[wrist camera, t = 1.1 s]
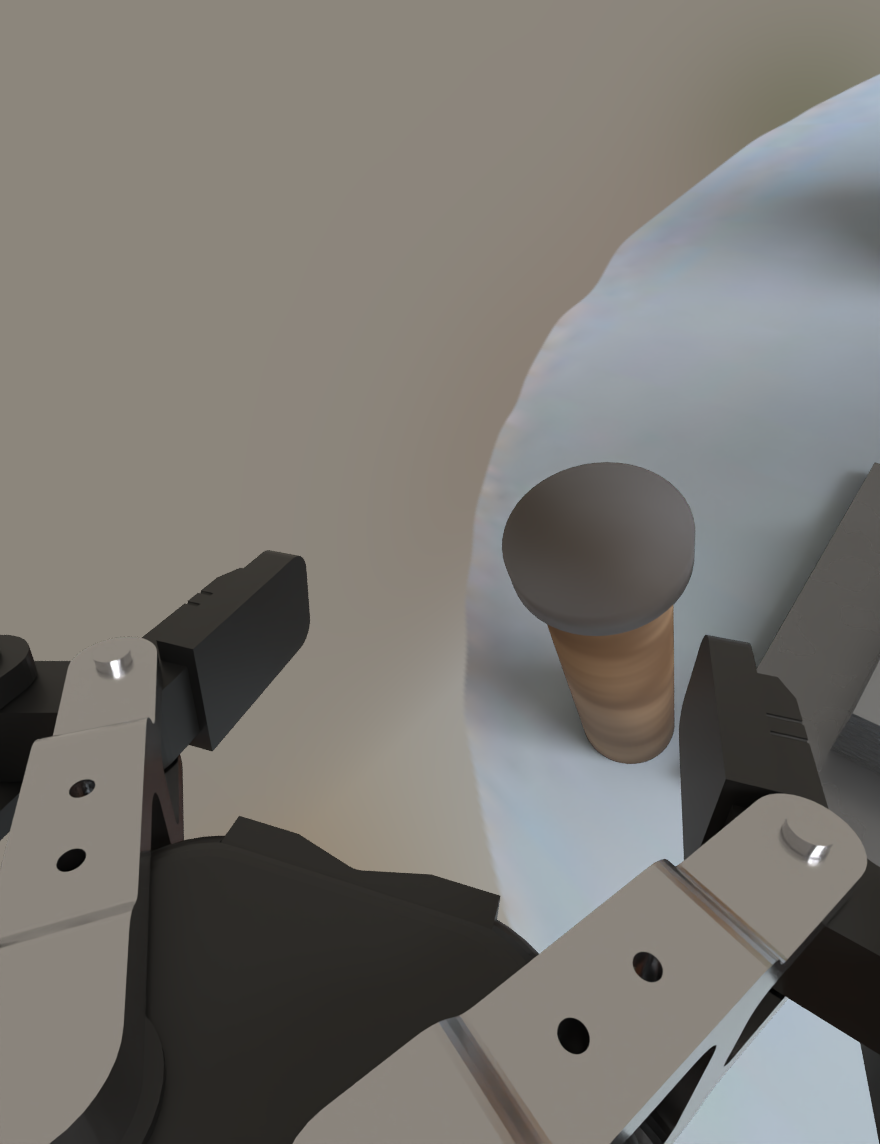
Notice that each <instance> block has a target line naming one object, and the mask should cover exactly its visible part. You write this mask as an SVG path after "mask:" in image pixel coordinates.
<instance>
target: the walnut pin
mask: <svg viewBox="0 0 880 1144" xmlns="http://www.w3.org/2000/svg"><path fill="white" fill-rule="evenodd" d="M694 550H695V525H694V519H693V515H692V512H691V510H690V507H689V505H688V504H687V502H686V500H685V498H684V497H683V496H682V495H681V493H680V492H679V491H678V490H677V489H676V488H675V487H674V486H673V485H672V484H671V483H670V482H668V481H667V480H665V479H664V478H663V477H661V476H659V475H657V474H655V473H653V472H651V471H649V470H646V469H644V468H641V467H637V466H633V465H629V464H622V463H610V462H604V463H591V464H584V465H580V466H576V467H572V468H569V469H566V470H563V471H561V472H559V473H556V474H554V475H552V476H550V477H548V478H547V479H545V480H543V481H542V482H540V483H539V484H537V485H536V486H535V487H533V488H532V489H531V490H530V491H529V492H528V493H527V494H525V495H524V497H523V498H522V499H521V500H520V501H519V502H518V503H517V505H516V506H515V508H514V509H513V511H512V513H511V514H510V516H509V518H508V520H507V523H506V526H505V529H504V534H503V539H502V552H503V559H504V562H505V566H506V569H507V571H508V574H509V576H510V579H511V581H512V584H513V586H514V589H515V591H516V593H517V595H518V597H519V598H520V600H521V601H522V603H523V604H524V606H525V607H526V608H527V609H528V610H529V611H530V612H531V613H532V614H533V615H535V616H536V617H537V618H538V619H540V620H541V621H543V622H545V623H546V624H547V625H548V628H549V631H550V634H551V637H552V640H553V643H554V645H555V648H556V651H557V654H558V657H559V660H560V663H561V665H562V668H563V671H564V674H565V677H566V680H567V682H568V685H569V688H570V691H571V694H572V697H573V700H574V702H575V705H576V708H577V711H578V714H579V717H580V719H581V722H582V725H583V728H584V731H585V734H586V736H587V738H588V740H589V741H590V743H591V744H592V746H593V747H594V748H595V749H596V750H597V751H598V752H599V753H601V754H602V755H603V756H605V757H607V758H609V759H611V760H613V761H616V762H620V763H626V764H636V763H642V762H646V761H648V760H651V759H653V758H654V757H656V756H658V755H659V754H660V753H661V752H662V751H663V750H664V749H665V748H666V747H667V745H668V744H669V742H670V740H671V738H672V735H673V732H674V628H673V604H674V603H675V602H676V601H677V600H678V599H679V597H680V596H681V595H682V593H683V592H684V590H685V588H686V586H687V584H688V583H689V580H690V577H691V574H692V570H693V565H694Z"/></svg>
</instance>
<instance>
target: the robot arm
mask: <svg viewBox="0 0 880 1144" xmlns="http://www.w3.org/2000/svg"><path fill="white" fill-rule="evenodd" d="M309 624H310V613H309V599H308V585H307V572H306V564H305V561H304V559H303V558H302V557H301V556H296V555H291V554H286V553H281V552H275V551H270V550H267V551H265V552H263V553H262V554H260V555H259V556H258V557H257V558H256V559H254V560H253V561H252V562H251V563H250V564H248V565H247V566H246V567H245V568H239V569H236V570H234V571H232V572H230V573H227V574H225V575H222V576H220V577H218V578H216V579H215V580H214V581H212V582H211V583H210V584H209V585H208V586H206V587H205V588H204V589H202V590H201V593H197V594H196V595H195V596H194V597H192V598H191V599H190V600H189V601H188V604H184V605H182V606H181V607H180V608H179V609H177V610H176V611H175V612H174V613H172V614H171V615H170V616H168V617H167V618H166V619H165V620H163V621H162V622H161V623H160V624H159V625H157V626H156V627H155V628H154V629H152V630H151V631H150V632H148V633H147V634H146V635H145V636H143V637H142V638H139V637H117V638H112V639H107V640H104V641H101V642H98V643H95V644H93V645H91V646H89V647H87V648H85V649H84V650H82V651H81V652H80V653H78V654H77V655H76V656H75V657H74V658H73V659H72V661H34V660H33V657H32V654H31V651H30V648H29V645H28V644H27V642H26V641H25V640H24V639H22V638H20V637H16V636H11V635H0V840H1V839H2V838H3V837H4V836H5V835H6V834H7V833H8V832H9V831H10V833H9V837H8V841H7V845H6V849H5V852H4V856H3V860H2V864H1V868H0V1144H673V1143H674V1141H675V1140H676V1139H677V1138H678V1136H679V1135H680V1134H681V1133H682V1131H683V1130H684V1129H685V1128H686V1126H687V1125H688V1124H689V1122H690V1121H691V1120H692V1118H693V1117H694V1115H695V1114H696V1113H697V1111H698V1110H699V1108H700V1107H701V1106H702V1104H703V1103H704V1101H705V1100H706V1098H707V1097H708V1095H709V1094H710V1093H711V1091H712V1090H713V1089H714V1087H715V1086H716V1085H717V1083H718V1082H719V1081H720V1080H721V1078H722V1077H723V1076H724V1075H725V1074H726V1072H727V1071H728V1070H729V1069H730V1068H731V1066H732V1065H733V1064H734V1063H735V1062H736V1060H737V1059H738V1058H739V1057H740V1056H741V1055H742V1053H743V1052H744V1051H745V1050H746V1049H747V1047H748V1046H749V1045H750V1044H751V1043H752V1041H753V1040H754V1039H755V1038H756V1037H757V1036H758V1034H759V1033H760V1032H761V1031H762V1030H763V1028H764V1027H765V1026H766V1025H767V1024H768V1022H769V1021H770V1020H771V1019H772V1018H773V1016H774V1015H775V1014H776V1013H777V1012H778V1011H779V1009H780V1008H781V1007H782V1006H783V1005H784V1003H785V1002H786V1001H787V1000H788V999H791V1000H792V1001H794V1002H795V1003H797V1004H799V1005H800V1006H802V1007H803V1008H805V1009H807V1010H808V1011H810V1012H812V1013H813V1014H815V1015H816V1016H818V1017H820V1018H821V1019H823V1020H824V1021H826V1022H828V1023H829V1024H831V1025H832V1026H834V1027H836V1028H837V1029H839V1030H841V1031H842V1032H844V1033H845V1034H847V1035H849V1036H850V1037H852V1038H853V1039H855V1040H857V1041H858V1042H860V1044H861V1049H862V1054H863V1060H864V1065H865V1070H866V1075H867V1081H868V1086H869V1091H870V1097H871V1102H872V1107H873V1112H874V1118H875V1123H876V1128H877V1134H878V1139H879V1144H880V867H879V866H878V865H876V864H874V863H873V862H871V861H870V860H869V859H867V855H866V852H865V848H864V846H863V844H862V842H861V840H860V839H859V837H858V836H857V835H856V833H855V832H854V831H853V830H852V828H851V827H850V826H849V825H848V824H847V823H846V822H845V821H843V820H842V819H841V818H840V817H839V816H837V815H836V814H835V813H833V812H832V811H830V810H829V809H828V805H827V802H826V798H825V795H824V792H823V788H822V785H821V781H820V778H819V774H818V771H817V768H816V764H815V761H814V757H813V754H812V751H811V747H810V744H809V743H807V741H808V737H807V733H806V730H805V727H804V725H802V721H803V720H802V716H801V713H800V710H799V706H798V703H797V699H796V698H795V697H794V695H793V694H792V693H791V692H790V691H789V690H788V688H787V687H786V686H785V685H784V684H783V683H782V681H781V680H780V679H779V678H778V677H775V676H770V675H765V674H760V673H757V670H756V665H755V661H754V656H753V652H752V647H751V645H750V644H749V643H746V642H741V641H736V640H730V639H725V638H720V637H715V636H710V635H705V636H704V638H703V640H702V642H701V645H700V648H699V652H698V655H697V658H696V661H695V665H694V668H693V671H692V675H691V678H690V681H689V685H688V688H687V691H686V694H685V698H684V701H683V705H682V710H681V716H680V724H679V748H680V773H681V797H682V821H683V846H684V861H683V862H682V863H680V864H679V865H677V866H674V865H673V864H672V863H670V862H669V861H668V860H666V859H662V860H659V861H657V862H655V863H654V864H652V865H651V866H649V867H648V868H647V869H646V870H644V871H643V872H642V873H640V874H639V875H638V876H637V877H635V878H634V879H633V880H632V881H630V882H629V883H628V884H627V885H625V886H624V887H623V888H622V889H620V890H619V891H618V892H617V893H615V894H614V895H613V896H612V897H610V898H609V899H608V900H607V901H605V902H604V903H603V904H602V905H600V906H599V907H598V908H597V909H595V910H594V911H593V912H592V913H590V914H589V915H588V916H587V917H585V918H584V919H583V920H581V921H580V922H579V923H578V924H576V925H575V926H574V927H573V928H571V929H570V930H569V931H568V932H566V933H565V934H564V935H563V936H561V937H560V938H559V939H558V940H556V941H555V942H554V943H553V944H551V945H550V946H549V947H548V948H546V949H545V950H544V951H543V952H541V953H540V954H539V953H538V952H537V951H536V950H535V949H534V948H533V947H532V946H531V945H530V944H529V943H528V942H527V941H526V940H524V939H523V938H522V937H521V936H519V935H518V934H517V933H516V932H514V931H513V930H512V929H511V928H509V927H508V926H506V925H505V924H503V923H501V922H500V921H498V920H497V915H498V907H499V901H500V896H499V895H496V894H493V893H489V892H486V891H483V890H479V889H476V888H473V887H470V886H467V885H463V884H460V883H457V882H453V881H450V880H447V879H444V878H440V877H437V876H434V875H428V874H412V873H395V872H376V871H361V870H356V869H353V868H351V867H349V866H348V865H346V864H345V863H343V862H342V861H340V860H338V859H337V858H335V857H334V856H332V855H330V854H329V853H327V852H326V851H324V850H323V849H321V848H320V847H318V846H316V845H315V844H313V843H312V842H310V841H309V840H307V839H305V838H304V837H302V836H301V835H299V834H297V833H293V832H290V831H287V830H284V829H280V828H277V827H274V826H271V825H267V824H264V823H261V822H257V821H254V820H251V819H248V818H244V817H241V816H239V817H238V818H237V820H236V821H235V823H234V824H233V826H232V827H231V828H230V830H229V831H228V833H227V834H226V835H225V836H211V837H210V836H209V837H200V838H194V839H188V840H184V821H183V769H182V761H181V756H180V753H181V752H182V751H183V750H184V749H185V748H186V747H187V746H188V745H192V746H195V747H199V748H202V749H206V750H209V751H213V750H214V749H215V748H216V747H217V745H218V744H219V743H220V742H221V741H222V740H223V738H224V737H225V736H226V735H227V734H228V733H229V731H230V730H231V729H232V728H233V727H234V725H235V724H236V723H237V722H238V721H239V719H240V718H241V717H242V716H243V715H244V714H245V712H246V711H247V710H248V709H249V708H250V707H251V705H252V704H253V703H254V702H255V701H256V700H257V698H258V697H259V696H260V695H261V694H262V693H263V691H264V690H265V689H266V688H267V687H268V685H269V684H270V683H271V682H272V681H273V679H274V678H275V677H276V676H277V675H278V674H279V673H280V671H281V670H282V669H283V668H284V667H285V665H286V664H287V663H288V662H289V661H290V660H291V658H292V657H293V656H294V655H295V654H296V652H297V651H298V650H299V649H300V648H301V646H302V645H303V643H304V641H305V639H306V637H307V634H308V630H309Z"/></svg>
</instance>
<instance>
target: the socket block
mask: <svg viewBox="0 0 880 1144" xmlns="http://www.w3.org/2000/svg"><path fill="white" fill-rule="evenodd" d="M757 673H760V674H765V675H770V676H775V677H778V678H779V679H780V680H781V681H782V683H783V684H784V685H785V686H786V687H787V688H788V690H789V691H790V692H791V693H792V694H793V695H794V697H795V698H796V699H797V703H798V706H799V710H800V713H801V716H802V720H803V721H802V725H804V727H805V730H806V733H807V737H808V741H807V743H809V744H810V747H811V751H812V754H813V757H814V761H815V764H816V768H817V771H818V774H819V778H820V781H821V785H822V788H823V792H824V795H825V798H826V802H827V805H828V809H829V810H830V811H832V812H833V813H835V814H836V815H837V816H839V817H840V818H841V819H842V820H843V821H845V822H846V823H847V824H848V825H849V826H850V827H851V828H852V830H853V831H854V832H855V833H856V835H857V836H858V837H859V839H860V840H861V842H862V844H863V846H864V848H865V852H866V855H867V859H869V860H870V861H871V862H873V863H874V864H876V865H878V866H879V867H880V464H878V463H874V465H873V467H872V468H871V470H870V472H869V474H868V475H867V477H866V479H865V481H864V482H863V484H862V486H861V488H860V489H859V491H858V493H857V495H856V496H855V498H854V500H853V502H852V503H851V505H850V507H849V509H848V510H847V512H846V514H845V516H844V517H843V519H842V521H841V523H840V524H839V526H838V528H837V530H836V531H835V533H834V535H833V537H832V538H831V540H830V542H829V544H828V545H827V547H826V549H825V551H824V552H823V554H822V556H821V558H820V559H819V561H818V563H817V565H816V566H815V568H814V570H813V572H812V573H811V575H810V577H809V579H808V580H807V582H806V584H805V586H804V587H803V589H802V591H801V593H800V594H799V596H798V598H797V600H796V601H795V603H794V605H793V607H792V608H791V610H790V612H789V614H788V615H787V617H786V619H785V621H784V622H783V624H782V626H781V628H780V629H779V631H778V633H777V635H776V636H775V638H774V640H773V642H772V643H771V645H770V647H769V649H768V650H767V652H766V654H765V656H764V657H763V659H762V661H761V663H760V664H759V666H758V668H757Z"/></svg>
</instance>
